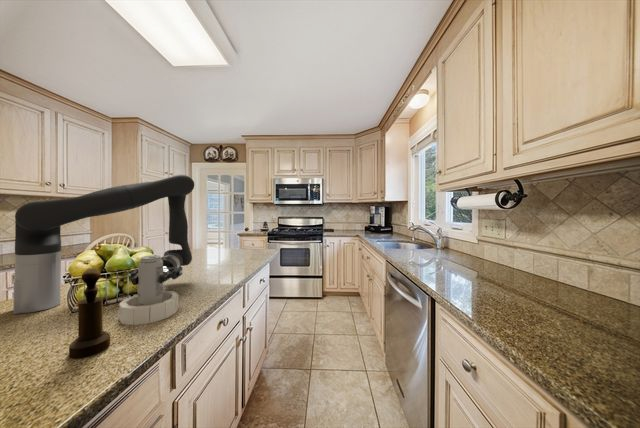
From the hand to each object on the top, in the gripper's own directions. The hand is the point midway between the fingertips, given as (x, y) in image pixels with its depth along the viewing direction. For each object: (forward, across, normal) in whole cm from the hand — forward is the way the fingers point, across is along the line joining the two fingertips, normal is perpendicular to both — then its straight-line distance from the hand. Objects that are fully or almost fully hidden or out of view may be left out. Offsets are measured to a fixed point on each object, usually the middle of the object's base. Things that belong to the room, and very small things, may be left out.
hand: (147, 280), depth 68 cm
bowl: (-2, 0, +11) cm, 11 cm away
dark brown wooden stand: (+15, -6, +11) cm, 20 cm away
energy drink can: (-2, 0, +9) cm, 9 cm away
